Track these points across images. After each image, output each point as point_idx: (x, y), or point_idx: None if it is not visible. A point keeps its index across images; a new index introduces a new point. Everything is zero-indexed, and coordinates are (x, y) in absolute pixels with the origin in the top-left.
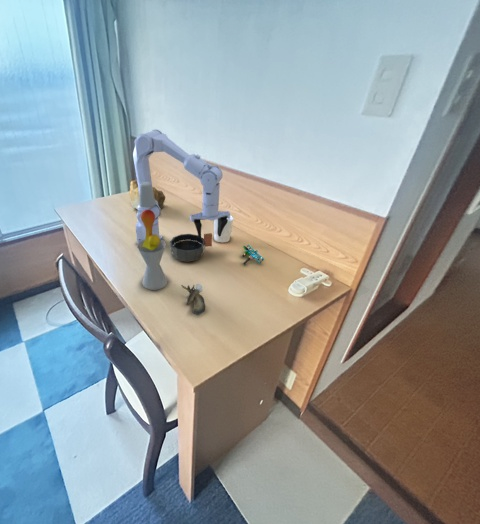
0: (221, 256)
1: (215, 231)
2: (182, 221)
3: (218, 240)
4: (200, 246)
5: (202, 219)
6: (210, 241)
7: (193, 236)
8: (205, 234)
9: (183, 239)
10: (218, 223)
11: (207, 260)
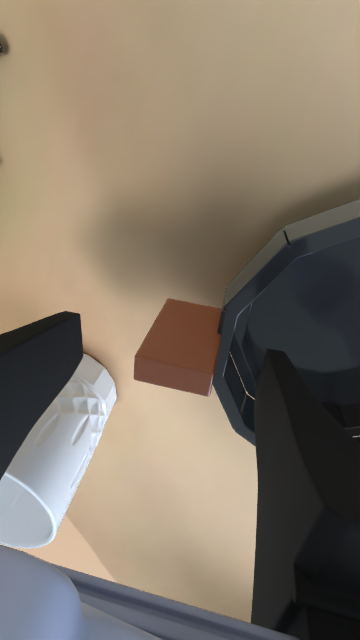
0: (128, 218)
1: (91, 426)
2: (211, 558)
3: (98, 371)
4: (244, 331)
5: (236, 634)
6: (168, 320)
7: None
8: (200, 380)
9: None
10: (6, 445)
11: (240, 201)
